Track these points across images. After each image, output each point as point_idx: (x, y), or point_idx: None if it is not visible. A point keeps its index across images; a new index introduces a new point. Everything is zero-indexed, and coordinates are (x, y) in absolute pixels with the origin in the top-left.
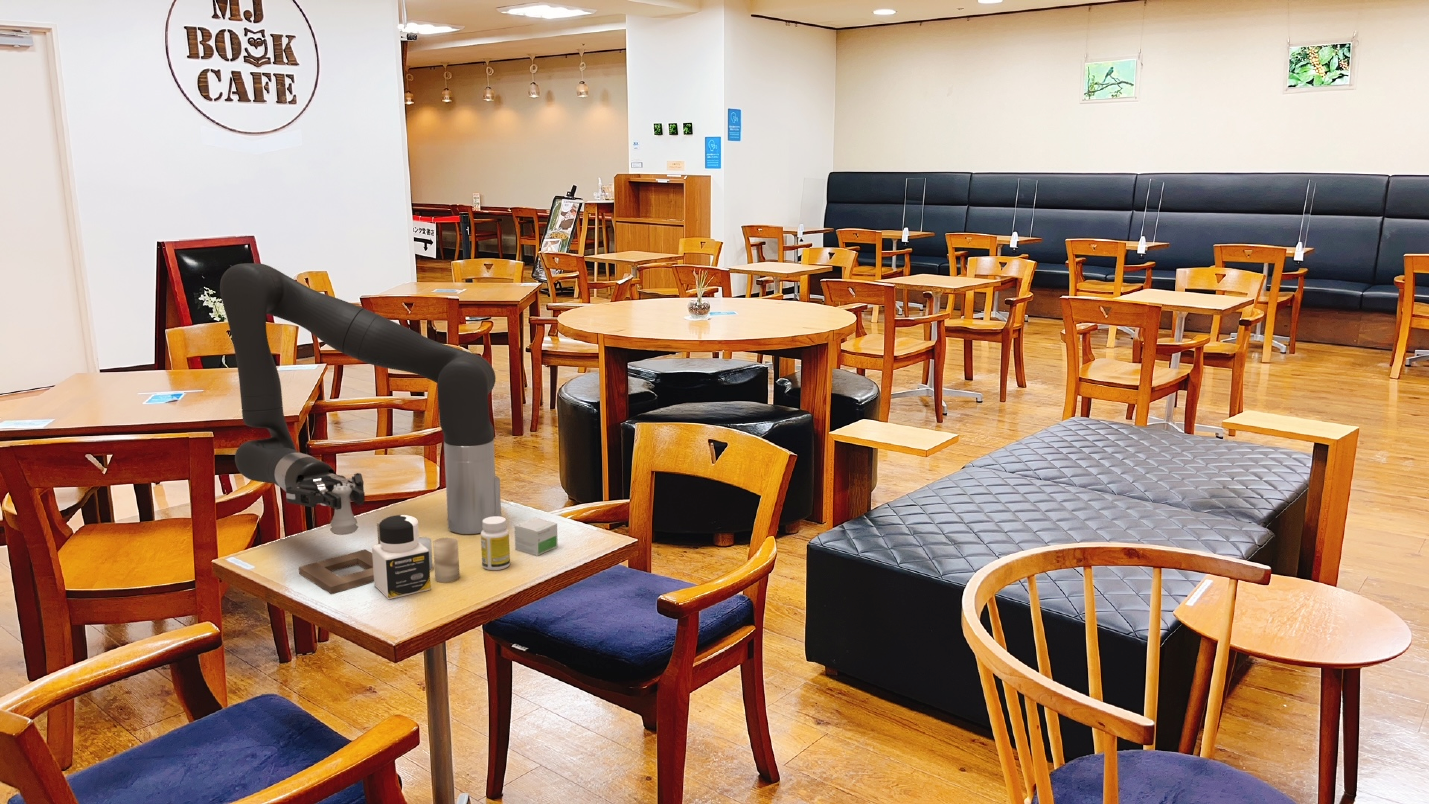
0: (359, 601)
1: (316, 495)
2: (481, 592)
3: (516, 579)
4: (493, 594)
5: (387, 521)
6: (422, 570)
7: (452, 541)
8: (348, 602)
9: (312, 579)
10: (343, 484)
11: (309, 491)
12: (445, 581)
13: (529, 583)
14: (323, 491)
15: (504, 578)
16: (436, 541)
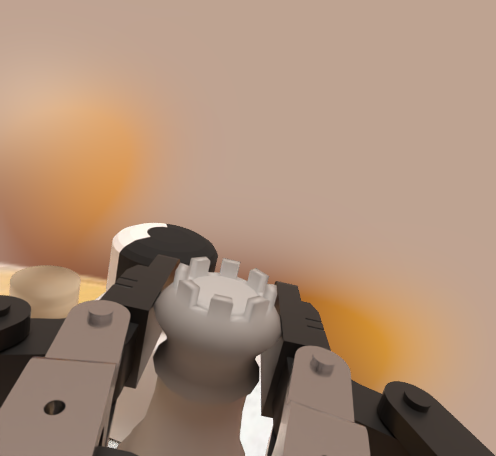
0: (248, 420)
1: (376, 393)
2: (87, 297)
3: (6, 283)
4: (87, 285)
5: (199, 243)
6: None
7: (39, 272)
8: (268, 435)
9: None
10: (196, 288)
11: (436, 424)
12: None
13: (20, 268)
14: (331, 356)
15: (7, 294)
16: (53, 291)
